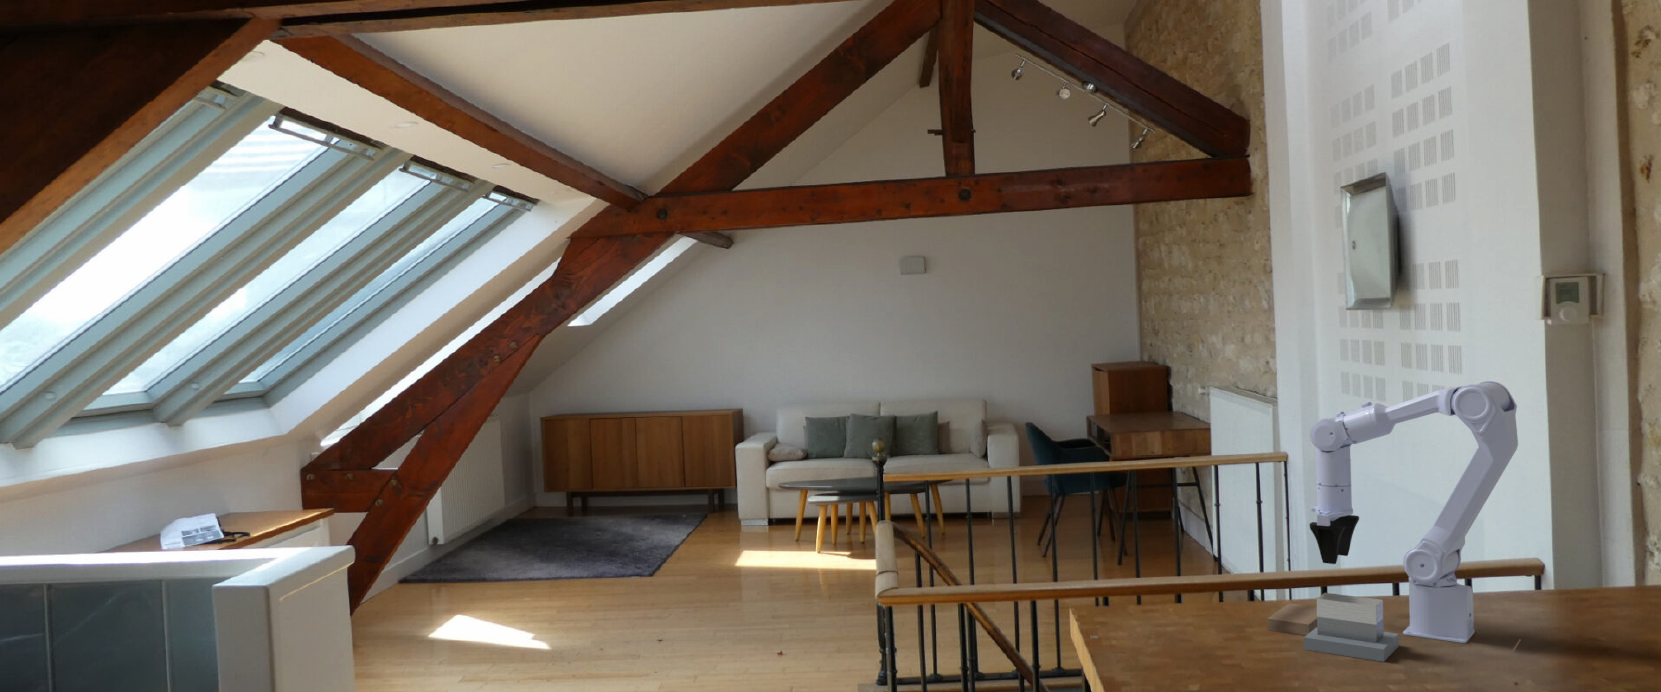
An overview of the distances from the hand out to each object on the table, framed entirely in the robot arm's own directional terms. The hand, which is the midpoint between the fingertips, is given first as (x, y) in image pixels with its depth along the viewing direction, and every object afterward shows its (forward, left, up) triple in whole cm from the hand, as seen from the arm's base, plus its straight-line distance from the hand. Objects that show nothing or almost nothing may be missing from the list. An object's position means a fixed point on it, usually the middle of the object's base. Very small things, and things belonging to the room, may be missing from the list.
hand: (1335, 559), depth 199 cm
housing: (-7, +18, -8) cm, 21 cm away
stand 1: (+4, +9, -10) cm, 14 cm away
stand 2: (-7, +18, -10) cm, 22 cm away
